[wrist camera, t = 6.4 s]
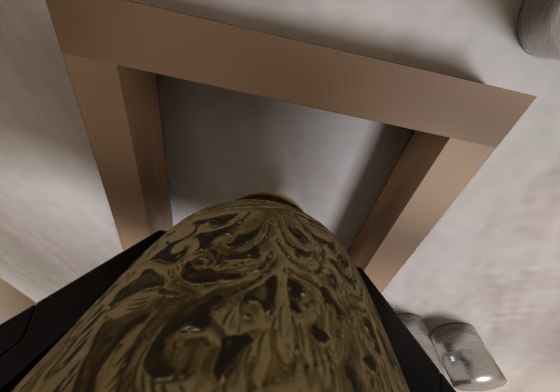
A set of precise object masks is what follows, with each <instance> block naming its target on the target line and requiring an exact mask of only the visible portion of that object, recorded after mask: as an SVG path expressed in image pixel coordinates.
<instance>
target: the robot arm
mask: <svg viewBox="0 0 560 392" xmlns="http://www.w3.org/2000/svg"><path fill="white" fill-rule="evenodd" d="M166 232H167V231H165V230H159V231H157V232H155V233H153V234H152V235H150V236H148V237H147V238H145V239H143V240H141V241H140V242H138V243H136V244H135V245H133V246H131V247H130V248H128V249H126V250H125V251H123V252H121V253H120V254H118V255H116V256H115V257H113V258H111V259H110V260H108V261H106V262H105V263H103V264H101V265H100V266H98V267H96V268H95V269H93V270H91V271H90V272H88V273H86V274H85V275H83V276H81V277H80V278H78V279H76V280H75V281H73V282H71V283H70V284H68V285H66V286H65V287H63V288H61V289H60V290H58V291H56V292H54V293H53V294H51V295H49V296H48V297H46V298H44V299H43V300H41V301H39V302H38V303H37V305H33V306H31V307H29V308H28V309H26V310H24V311H23V312H21V313H19V314H17V315H16V316H14V317H13V318H11V319H9V320H7V321H6V322H4V323H2V324H0V392H11V391H12V390H13V389H14V388H15V387H16V386H17V385H18V383H19V382H20V381H21V380H22V379H23V378H24V377H25V376H26V375H27V374H28V373H29V372H30V371H31V370H32V369H33V368H34V366H35V365H36V364H37V363H38V362H39V361H40V360H41V359H42V358H43V357H44V356H45V355H46V354H47V353H48V352H49V351H50V350H51V348H52V347H53V346H54V345H55V344H56V343H57V342H58V341H59V340H60V339H61V338H62V337H63V336H64V335H65V334H66V333H67V332H68V330H69V329H70V328H71V327H72V326H73V325H74V324H75V323H76V322H77V321H78V320H79V319H80V318H81V317H82V316H83V315H84V314H85V313H86V312H87V311H88V309H89V308H90V307H91V306H92V305H93V304H94V303H95V302H96V301H97V300H98V299H99V298H100V297H101V296H102V295H103V294H104V293H105V292H106V291H107V290H108V289H109V288H110V287H111V285H112V284H113V283H114V282H115V281H116V280H117V279H118V278H119V277H120V276H121V275H122V274H123V273H124V272H125V271H126V270H127V269H128V268H129V267H130V266H131V265H132V264H133V263H134V262H135V261H136V260H137V259H138V258H139V257H140V256H141V255H142V254H143V253H144V252H145V251H146V250H147V249H148V248H149V247H150V246H151V245H153V244H154V243H155V242H156V241H157V240H158V239H159V238H160V237H161V236H163V235H164V234H165V233H166ZM356 268H357V270H358V272H359V274H360V276H361V278H362V280H363V282H364V284H365V286H366V288H367V290H368V292H369V294H370V296H371V299H372V301H373V303H374V305H375V308H376V310H377V312H378V315H379V317H380V319H381V322H382V324H383V327H384V329H385V331H386V334H387V336H388V339H389V341H390V343H391V346H392V348H393V351H394V353H395V355H396V358H397V360H398V363H399V365H400V368H401V370H402V372H403V375H404V377H405V380H406V382H407V385H408V387H409V390H410V392H456V391H455V390H454V388H453V387H452V386H451V384H450V383H449V382H448V380H447V379H446V378H445V376H444V375H443V374H442V373H440V370H439V369H438V367H437V366H436V365H435V364H434V362H433V361H432V360H431V358H430V357H429V356H428V354H427V353H426V352H425V350H424V349H423V348H422V347H421V345H420V344H419V343H418V341H417V340H416V339H415V337H414V336H413V335H412V333H411V332H410V331H409V329H408V328H407V327H406V326H405V324H404V323H403V322H402V320H401V319H400V318H399V316H398V315H397V314H396V312H395V311H394V310H393V309H392V307H391V306H390V305H389V303H388V302H387V301H386V299H385V298H384V297H383V295H382V294H381V293H380V291H379V290H378V289H377V288H376V286H375V285H374V284H373V282H372V281H371V280H370V278H369V277H368V276H367V274H366V273H365V272H364V271H363V269H362V268H360V267H357V266H356Z"/></svg>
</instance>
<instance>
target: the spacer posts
mask: <svg viewBox="0 0 560 392" xmlns="http://www.w3.org/2000/svg"><path fill="white" fill-rule="evenodd" d="M518 37H519V41H520V43H521V45H522V47H523V48H524V50H525V51H526V52H527V53H529V54H530V55H532V56H535V57H538V58H544V59H558V60H560V0H524V3H523V5H522V8H521V11H520V15H519V20H518ZM398 316H399V318H400V319H401V320H402V322H403V323H404V324H405V326H406V327H407V328H408V329H409V331H410V332H411V333H412V335H413V336H414V337H415V339H416V340H417V341H418V343H419V344H420V345H421V347H422V348H423V349H424V350H425V352H426V353H427V354H428V356H429V357H430V358H431V360H432V361H433V362H434V364H435V365H436V366H437V367H438V369H439V370H440V373H442V374H443V375H445V374H446V372H447V374H448V376H449V378H450V381H451V383H452V385H453V387H455V388H456V389H459V390H464V391H485V390H491V389H495V388H498V387H501V386H503V385H504V384H505V383H506V382H507V380H506V379H505V377H504V375H503V374H502V372H501V370H500V369H499V367H498V365H497V364H496V362H495V360H494V359H493V357H492V356H491V354H490V352H489V351H488V349H487V347H486V346H485V344H484V342H483V341H482V339H481V337H480V336H479V334H478V333H477V331H476V329H475V328H474V327H473V326H471V325H468V324H463V323H454V324H447V325H444V326H441V327H438V328H436V329H435V330H433V331H432V333H431V336H430V334H429V332H428V329H427V327H426V325H425V323H424V320H423V319H422V318H421V317H419V316H416V315H412V314H398ZM432 340H433V341H432ZM433 342H434V343H433ZM436 349H437V350H436ZM437 351H438V352H437ZM439 356H440V357H439ZM440 358H441V359H440ZM441 360H442V361H441ZM443 365H444V366H443ZM444 367H445V368H444ZM445 369H446V370H445Z"/></svg>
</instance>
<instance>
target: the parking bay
mask: <svg viewBox="0 0 560 392" xmlns="http://www.w3.org/2000/svg"><path fill="white" fill-rule="evenodd" d="M46 3H47V6H48V9H49V12H50V15H51V19H52V22H53V25H54V28H55V31H56V35H57V38H58V41H59V44H60V48H61V51H62V54H63V57H64V60H65V64H66V67H67V70H68V73H69V76H70V80H71V83H72V86H73V89H74V92H75V96H76V99H77V102H78V105H79V109H80V112H81V115H82V118H83V121H84V125H85V128H86V131H87V134H88V137H89V141H90V144H91V147H92V150H93V154H94V157H95V160H96V163H97V166H98V170H99V173H100V176H101V179H102V182H103V186H104V189H105V192H106V195H107V198H108V202H109V205H110V208H111V211H112V215H113V218H114V221H115V224H116V227H117V231H118V234H119V237H120V240H121V243H122V247H123V250H124V251H125V250H126V249H128V248H130V247H131V246H133V245H135V244H136V243H138V242H140V241H141V240H143V239H145V238H147V237H148V236H150V235H152V234H153V233H155V232H157V231H159V230H165V231H169V230H170V229H171V228H173V222H172V213H171V204H170V195H169V186H168V178H167V169H166V160H165V151H164V142H163V134H162V125H161V116H160V107H159V98H158V90H157V81H156V73H157V74H162V75H166V76H171V77H175V78H180V79H184V80H189V81H194V82H198V83H203V84H207V85H212V86H216V87H221V88H225V89H230V90H235V91H239V92H244V93H248V94H253V95H257V96H262V97H267V98H271V99H276V100H280V101H285V102H289V103H294V104H299V105H303V106H308V107H312V108H317V109H321V110H326V111H331V112H335V113H340V114H344V115H349V116H353V117H358V118H362V119H367V120H372V121H376V122H381V123H385V124H390V125H394V126H399V127H404V128H408V129H413V130H415V131H414V133H413V135H412V137H411V139H410V140H409V142H408V144H407V146H406V148H405V150H404V151H403V153H402V155H401V157H400V159H399V161H398V162H397V164H396V166H395V168H394V170H393V172H392V173H391V175H390V177H389V179H388V181H387V183H386V184H385V186H384V188H383V190H382V192H381V194H380V195H379V197H378V199H377V201H376V203H375V205H374V206H373V208H372V210H371V212H370V214H369V216H368V217H367V219H366V221H365V223H364V225H363V227H362V228H361V230H360V232H359V234H358V236H357V238H356V239H355V241H354V243H353V245H352V247H351V249H350V250H349V252H348V254H349V256H350V257H351V259H352V261H353V262H354V264H355V266H357V267H360V268H362V269H363V271H364V272H365V273H366V274H367V276H368V277H369V278H370V280H371V281H372V282H373V284H374V285H375V286H376V288H377V289H378V290H379V291H380V293H382V291H383V290H384V289H385V287H386V286H387V285H388V284H389V282H390V281H391V280H392V279H393V277H394V276H395V275H396V274H397V272H398V271H399V270H400V269H401V267H402V266H403V265H404V264H405V262H406V261H407V260H408V258H409V257H410V256H411V255H412V253H413V252H414V251H415V250H416V248H417V247H418V246H419V245H420V243H421V242H422V241H423V240H424V238H425V237H426V236H427V235H428V233H429V232H430V231H431V229H432V228H433V227H434V226H435V224H436V223H437V222H438V221H439V219H440V218H441V217H442V216H443V214H444V213H445V212H446V211H447V209H448V208H449V207H450V206H451V204H452V203H453V202H454V200H455V199H456V198H457V197H458V195H459V194H460V193H461V192H462V190H463V189H464V188H465V187H466V185H467V184H468V183H469V182H470V180H471V179H472V178H473V177H474V175H475V174H476V173H477V171H478V170H479V169H480V168H481V166H482V165H483V164H484V163H485V161H486V160H487V159H488V158H489V156H490V155H491V154H492V153H493V151H494V150H495V149H496V148H497V146H498V145H499V144H500V142H501V141H502V140H503V139H504V137H505V136H506V135H507V134H508V132H509V131H510V130H511V129H512V127H513V126H514V125H515V124H516V122H517V121H518V120H519V119H520V117H521V116H522V115H523V113H524V112H525V111H526V110H527V108H528V107H529V106H530V105H531V103H532V102H533V101H534V100H535V98H536V97H537V96H533V95H528V94H524V93H520V92H516V91H511V90H507V89H503V88H499V87H495V86H490V85H486V84H482V83H478V82H473V81H469V80H465V79H460V78H456V77H452V76H448V75H443V74H439V73H435V72H430V71H426V70H422V69H417V68H413V67H409V66H405V65H400V64H396V63H392V62H387V61H383V60H379V59H375V58H370V57H366V56H362V55H357V54H353V53H349V52H345V51H340V50H336V49H332V48H327V47H323V46H319V45H315V44H310V43H306V42H302V41H297V40H293V39H289V38H285V37H280V36H276V35H272V34H267V33H263V32H259V31H255V30H250V29H246V28H242V27H237V26H233V25H229V24H225V23H220V22H216V21H212V20H207V19H203V18H199V17H195V16H190V15H186V14H182V13H177V12H173V11H169V10H165V9H160V8H156V7H152V6H147V5H143V4H139V3H135V2H130V1H126V0H46Z"/></svg>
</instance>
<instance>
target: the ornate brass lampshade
mask: <svg viewBox="0 0 560 392" xmlns="http://www.w3.org/2000/svg"><path fill="white" fill-rule="evenodd" d="M11 392H410V390H409V387H408V385H407V382H406V380H405V377H404V375H403V372H402V370H401V368H400V365H399V363H398V360H397V358H396V355H395V353H394V351H393V348H392V346H391V343H390V341H389V339H388V336H387V334H386V331H385V329H384V327H383V324H382V322H381V319H380V317H379V315H378V312H377V310H376V308H375V305H374V303H373V301H372V299H371V296H370V294H369V292H368V290H367V288H366V286H365V284H364V282H363V280H362V278H361V276H360V274H359V272H358V270H357V268H356V266H355V264H354V262H353V261H352V259H351V257H350V256H349V254H348V253H347V251H346V250H345V248H344V247H343V246H342V244H341V243H340V242H339V241H338V240H337V238H336V237H335V236H334V235H333V234H332V233H331V232H330V231H329V230H328V229H327V228H326V227H325V226H323V225H322V224H321V223H320V222H318V221H317V220H315V219H314V218H312V217H311V216H309V215H307V214H306V213H305V212H304V211H303V209H302V208H301V207H300V206H299V205H298V204H297V203H296V202H295V201H294V200H293V199H291V198H290V197H288V196H286V195H284V194H282V193H279V192H275V191H269V190H259V191H253V192H249V193H247V194H244V195H242V196H240V197H239V198H237V199H236V200H234V201H228V202H223V203H219V204H215V205H212V206H209V207H207V208H204V209H202V210H200V211H198V212H196V213H194V214H192V215H190V216H188V217H187V218H185V219H183V220H182V221H181V222H179V223H178V224H177V225H175V226H174V227H173V228H171V229H170V230H169V231H167V232H166V233H165V234H164V235H163V236H161V237H160V238H159V239H158V240H157V241H156V242H155V243H154V244H153V245H151V246H150V247H149V248H148V249H147V250H146V251H145V252H144V253H143V254H142V255H141V256H140V257H139V258H138V259H137V260H136V261H135V262H134V263H133V264H132V265H131V266H130V267H129V268H128V269H127V270H126V271H125V272H124V273H123V274H122V275H121V276H120V277H119V278H118V279H117V280H116V281H115V282H114V283H113V284H112V285H111V287H110V288H109V289H108V290H107V291H106V292H105V293H104V294H103V295H102V296H101V297H100V298H99V299H98V300H97V301H96V302H95V303H94V304H93V305H92V306H91V307H90V308H89V309H88V311H87V312H86V313H85V314H84V315H83V316H82V317H81V318H80V319H79V320H78V321H77V322H76V323H75V324H74V325H73V326H72V327H71V328H70V329H69V330H68V332H67V333H66V334H65V335H64V336H63V337H62V338H61V339H60V340H59V341H58V342H57V343H56V344H55V345H54V346H53V347H52V348H51V350H50V351H49V352H48V353H47V354H46V355H45V356H44V357H43V358H42V359H41V360H40V361H39V362H38V363H37V364H36V365H35V366H34V368H33V369H32V370H31V371H30V372H29V373H28V374H27V375H26V376H25V377H24V378H23V379H22V380H21V381H20V382H19V383H18V385H17V386H16V387H15V388H14V389H13V390H12V391H11Z"/></svg>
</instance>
